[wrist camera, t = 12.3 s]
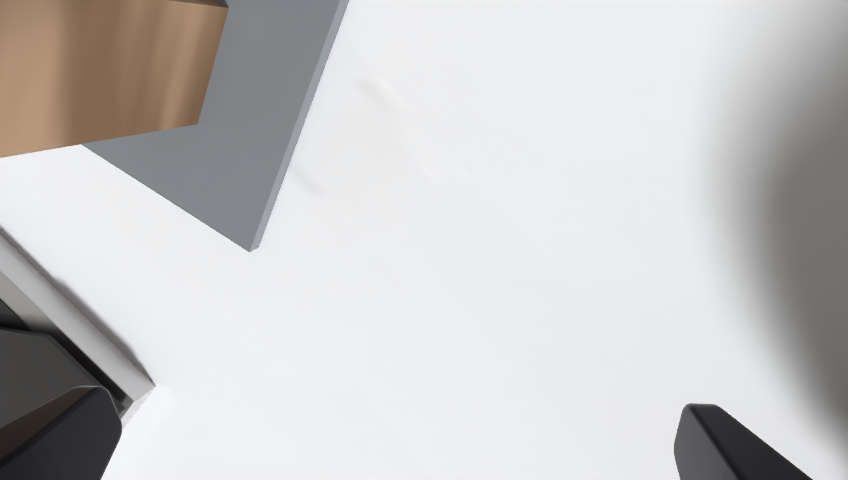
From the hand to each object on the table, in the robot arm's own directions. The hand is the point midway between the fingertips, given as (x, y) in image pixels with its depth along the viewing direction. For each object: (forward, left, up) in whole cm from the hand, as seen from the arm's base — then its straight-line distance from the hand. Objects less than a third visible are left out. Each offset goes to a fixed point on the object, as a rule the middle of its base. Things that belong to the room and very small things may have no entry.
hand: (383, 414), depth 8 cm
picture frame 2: (+7, +31, -12) cm, 34 cm away
